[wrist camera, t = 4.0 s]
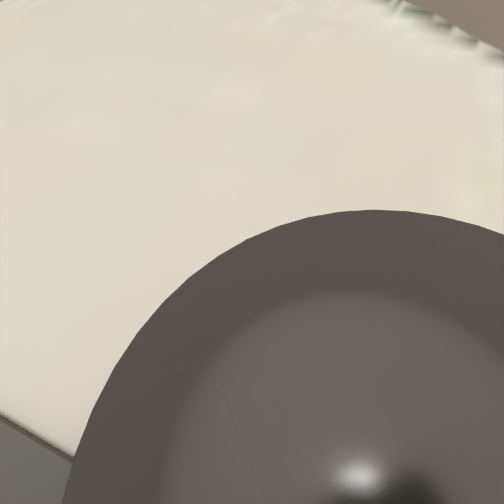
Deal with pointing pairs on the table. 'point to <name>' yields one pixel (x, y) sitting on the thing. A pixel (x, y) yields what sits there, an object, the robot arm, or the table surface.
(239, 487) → the grey tall cylinder
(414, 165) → the table surface
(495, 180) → the table surface
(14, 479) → the mat
